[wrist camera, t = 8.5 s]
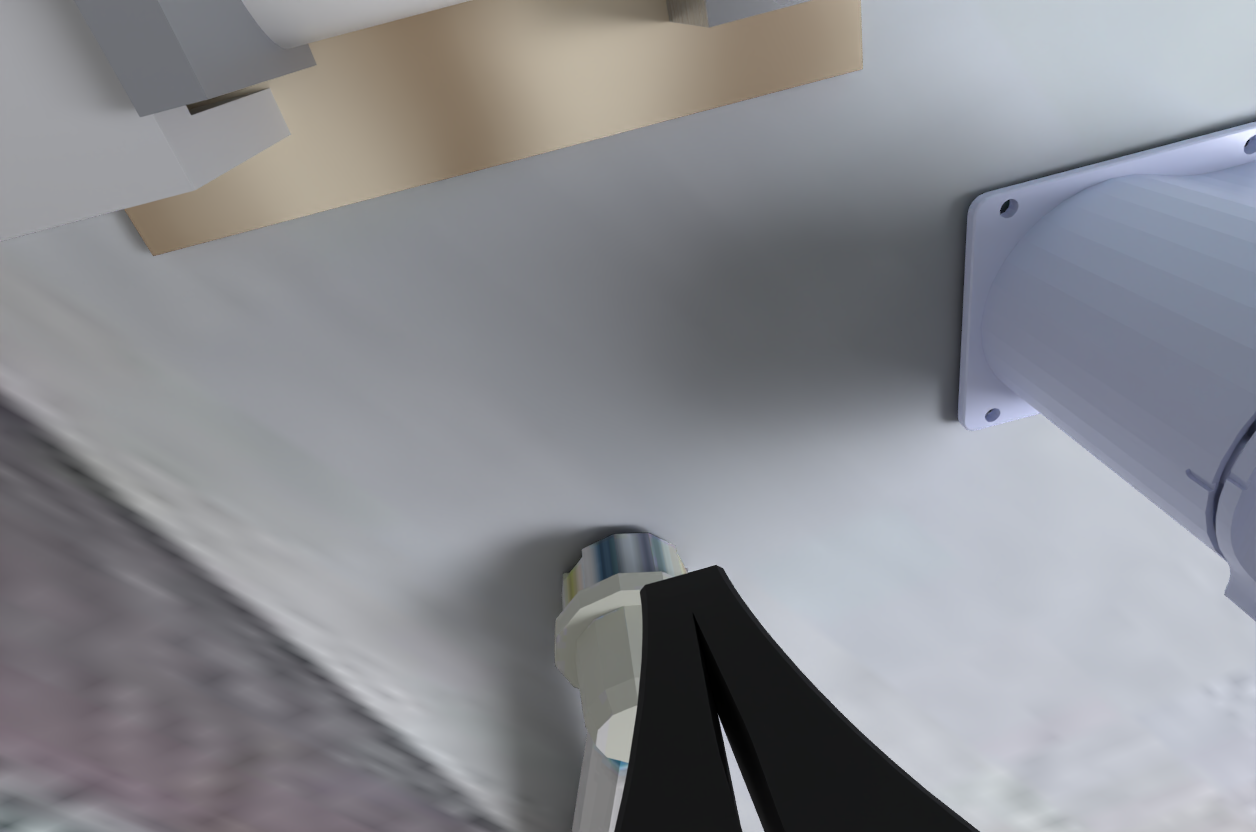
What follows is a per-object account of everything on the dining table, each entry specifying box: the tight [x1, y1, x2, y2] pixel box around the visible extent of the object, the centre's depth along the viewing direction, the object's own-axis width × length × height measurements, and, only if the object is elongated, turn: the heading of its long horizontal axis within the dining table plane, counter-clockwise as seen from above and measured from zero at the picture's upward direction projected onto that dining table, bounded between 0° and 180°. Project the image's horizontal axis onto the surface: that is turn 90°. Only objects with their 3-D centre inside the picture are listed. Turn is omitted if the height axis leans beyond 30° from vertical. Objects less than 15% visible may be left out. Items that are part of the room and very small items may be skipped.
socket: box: [0, 0, 291, 242], centre depth 12 cm, size 4×6×6 cm
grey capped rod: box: [554, 533, 688, 832], centre depth 28 cm, size 5×7×25 cm
